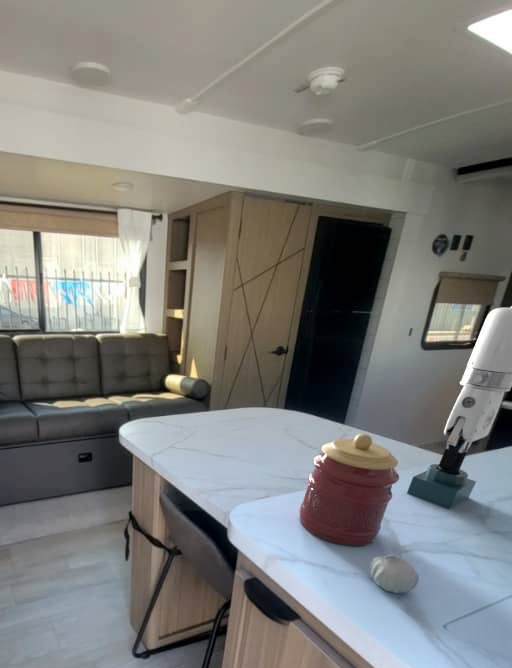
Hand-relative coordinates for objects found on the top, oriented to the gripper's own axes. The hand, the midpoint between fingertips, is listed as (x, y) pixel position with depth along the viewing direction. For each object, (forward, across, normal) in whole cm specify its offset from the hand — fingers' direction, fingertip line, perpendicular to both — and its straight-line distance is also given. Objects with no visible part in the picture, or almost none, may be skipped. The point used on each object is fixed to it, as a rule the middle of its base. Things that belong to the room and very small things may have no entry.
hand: (448, 468), depth 84 cm
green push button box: (+6, 0, 0) cm, 7 cm away
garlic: (+7, -41, -9) cm, 42 cm away
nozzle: (+2, 0, 0) cm, 2 cm away
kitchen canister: (+7, -32, +4) cm, 33 cm away
